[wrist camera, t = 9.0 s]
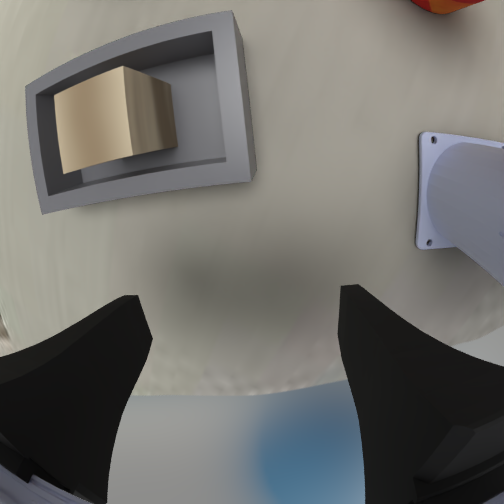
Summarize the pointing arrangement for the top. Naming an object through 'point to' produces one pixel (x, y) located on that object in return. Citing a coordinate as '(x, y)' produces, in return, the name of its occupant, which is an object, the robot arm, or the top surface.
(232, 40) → the grey rectangular open box
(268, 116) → the top surface
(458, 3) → the paper cup
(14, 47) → the top surface
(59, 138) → the birch block
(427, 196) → the robot arm
